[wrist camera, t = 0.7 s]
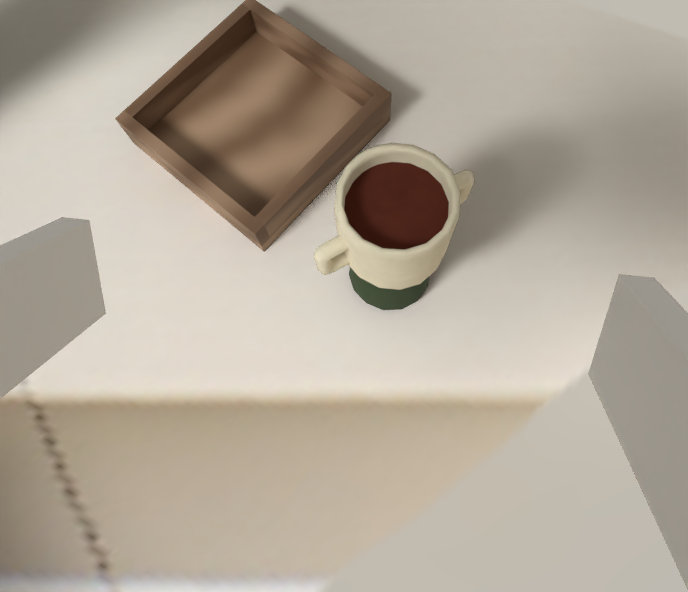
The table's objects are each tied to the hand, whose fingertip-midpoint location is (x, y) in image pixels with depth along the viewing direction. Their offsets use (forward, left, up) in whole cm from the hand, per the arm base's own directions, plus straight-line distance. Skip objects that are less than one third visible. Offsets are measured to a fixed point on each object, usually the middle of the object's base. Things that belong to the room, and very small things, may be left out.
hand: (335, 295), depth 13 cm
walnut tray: (-21, +12, -26) cm, 36 cm away
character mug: (-4, +9, -27) cm, 28 cm away
